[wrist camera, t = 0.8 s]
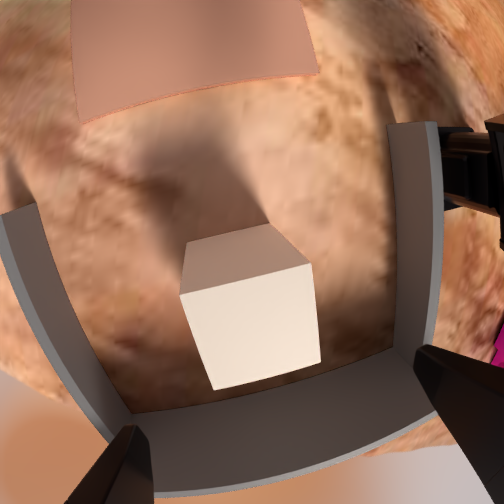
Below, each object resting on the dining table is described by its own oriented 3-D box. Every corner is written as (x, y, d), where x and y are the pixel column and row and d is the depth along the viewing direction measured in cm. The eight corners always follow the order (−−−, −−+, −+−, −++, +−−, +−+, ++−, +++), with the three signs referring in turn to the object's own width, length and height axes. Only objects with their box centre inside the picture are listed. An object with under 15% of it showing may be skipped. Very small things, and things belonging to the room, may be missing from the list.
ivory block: (269, 222, 18) (310, 262, 11) (282, 296, 19) (320, 362, 13) (186, 242, 17) (179, 295, 10) (207, 314, 19) (213, 390, 12)
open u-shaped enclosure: (397, 124, 17) (488, 120, 9) (400, 351, 23) (451, 406, 16) (25, 206, 14) (-57, 241, 7) (126, 422, 21) (115, 497, 13)
